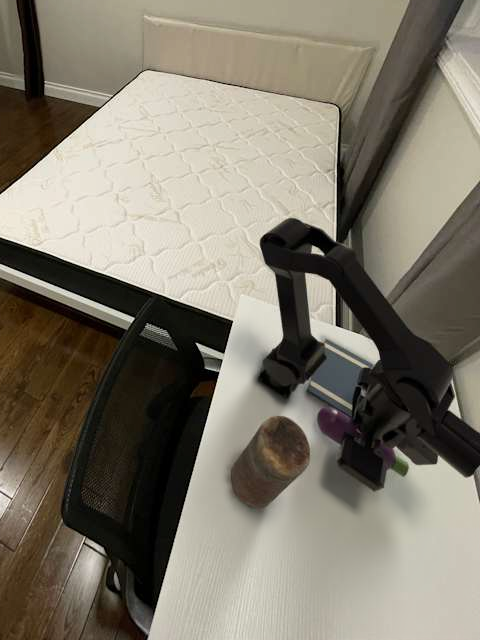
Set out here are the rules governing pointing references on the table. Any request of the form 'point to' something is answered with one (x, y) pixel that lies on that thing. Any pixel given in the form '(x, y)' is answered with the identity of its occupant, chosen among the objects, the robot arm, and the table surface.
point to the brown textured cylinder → (270, 461)
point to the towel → (337, 377)
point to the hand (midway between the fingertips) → (351, 439)
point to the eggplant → (338, 422)
